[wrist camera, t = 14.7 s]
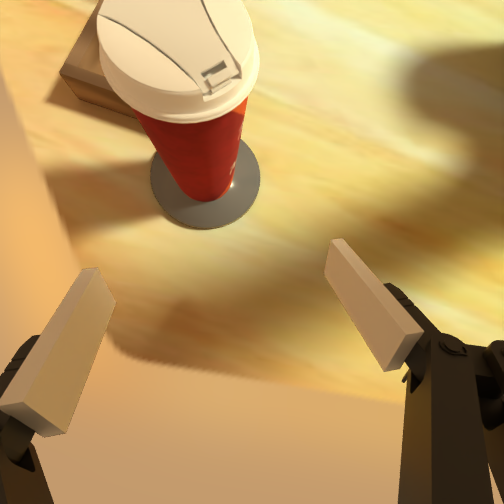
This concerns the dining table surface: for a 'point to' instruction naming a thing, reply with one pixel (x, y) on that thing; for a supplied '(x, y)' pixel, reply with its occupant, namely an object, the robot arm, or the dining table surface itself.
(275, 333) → the dining table surface
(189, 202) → the grey smooth round part
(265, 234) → the dining table surface
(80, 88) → the collar
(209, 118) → the paper cup
